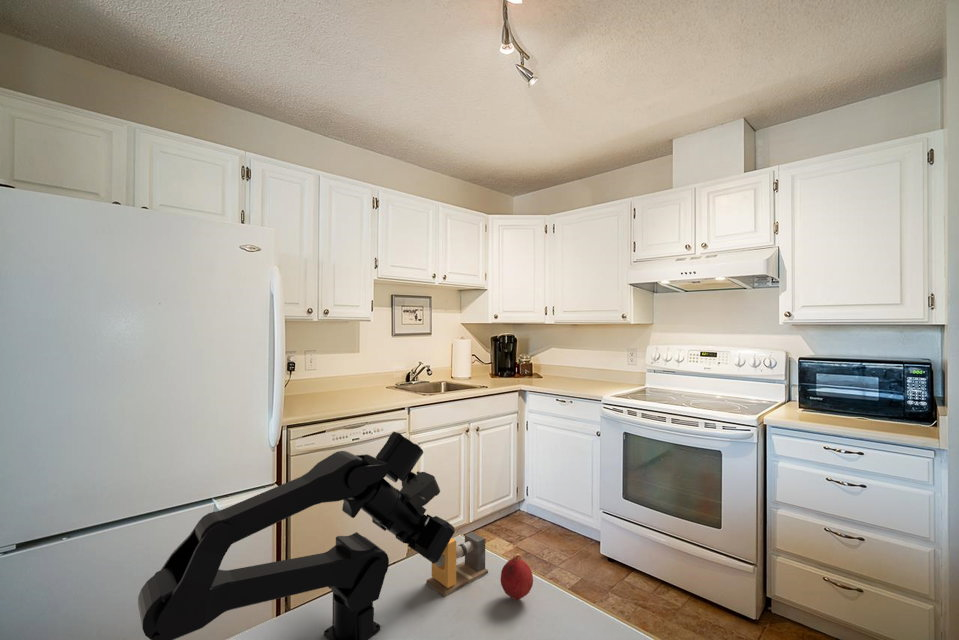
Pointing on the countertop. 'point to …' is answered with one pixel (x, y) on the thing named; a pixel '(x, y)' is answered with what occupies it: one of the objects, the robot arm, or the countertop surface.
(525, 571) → the onion
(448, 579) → the collar
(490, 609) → the countertop surface
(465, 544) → the pipe stand
